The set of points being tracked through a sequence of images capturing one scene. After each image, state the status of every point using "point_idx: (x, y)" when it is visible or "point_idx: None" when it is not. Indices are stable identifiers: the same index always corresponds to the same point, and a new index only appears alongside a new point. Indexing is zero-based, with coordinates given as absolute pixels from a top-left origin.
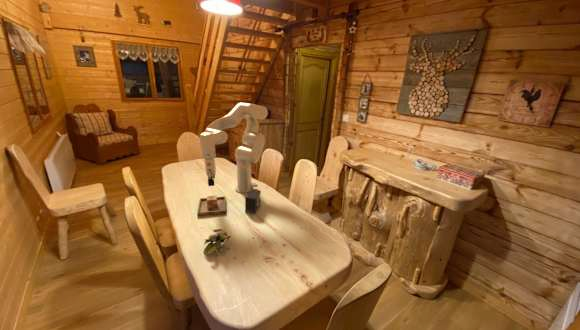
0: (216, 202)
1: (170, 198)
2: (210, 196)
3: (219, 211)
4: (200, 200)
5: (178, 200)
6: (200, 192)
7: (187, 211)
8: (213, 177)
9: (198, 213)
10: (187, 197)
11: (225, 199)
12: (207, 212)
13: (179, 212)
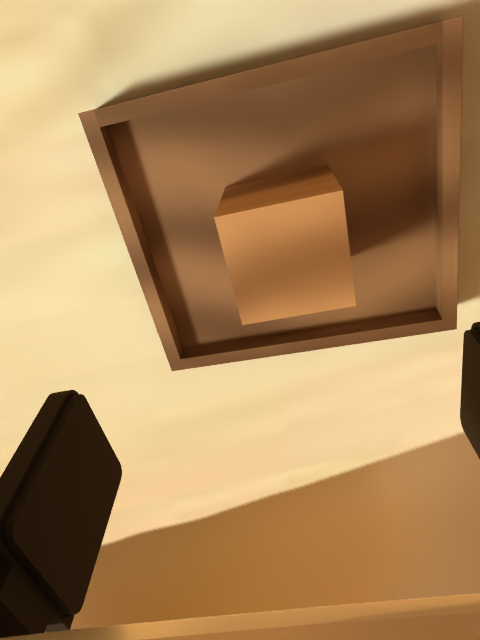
0: (337, 182)
1: (157, 527)
2: (251, 286)
3: (459, 105)
4: (213, 357)
5: (178, 484)
6: (15, 385)
7: (342, 398)
8: (83, 425)
9: (455, 316)
10: (123, 448)
11: (161, 92)
12: (457, 239)
13: (353, 440)
